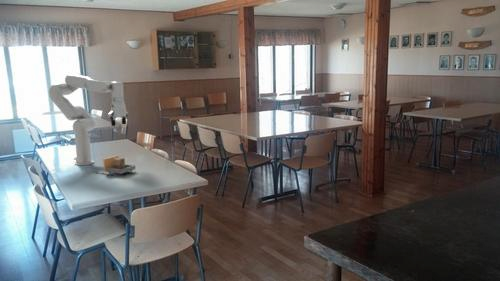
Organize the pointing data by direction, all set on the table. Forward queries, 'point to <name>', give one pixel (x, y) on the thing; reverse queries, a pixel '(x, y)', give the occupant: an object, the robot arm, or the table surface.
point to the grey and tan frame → (109, 168)
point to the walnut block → (118, 163)
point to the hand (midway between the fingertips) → (118, 124)
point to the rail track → (115, 174)
